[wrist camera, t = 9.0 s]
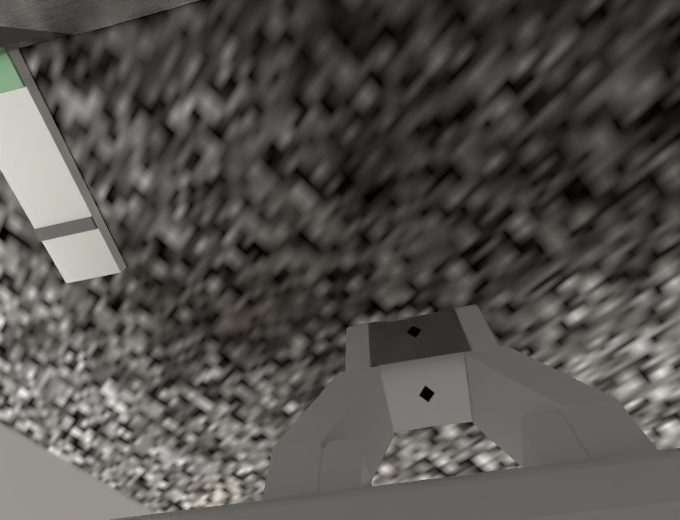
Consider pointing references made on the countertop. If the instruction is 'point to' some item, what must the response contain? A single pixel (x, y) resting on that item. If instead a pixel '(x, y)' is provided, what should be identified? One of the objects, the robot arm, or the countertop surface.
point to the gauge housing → (50, 180)
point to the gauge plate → (68, 17)
